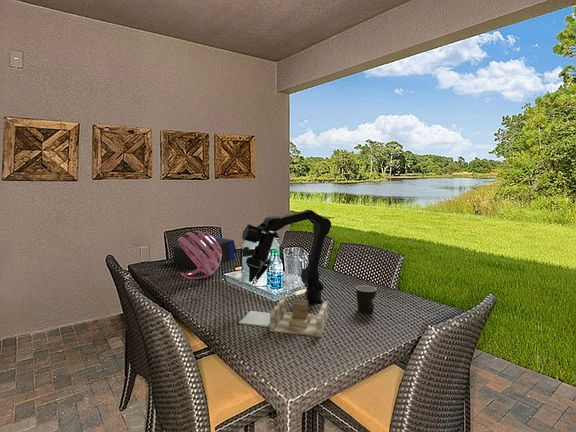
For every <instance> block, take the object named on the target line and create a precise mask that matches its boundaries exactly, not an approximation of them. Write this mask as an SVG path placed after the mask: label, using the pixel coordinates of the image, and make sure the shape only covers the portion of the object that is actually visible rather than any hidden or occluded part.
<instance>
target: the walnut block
mask: <svg viewBox="0 0 576 432" xmlns="http://www.w3.org/2000/svg"><path fill="white" fill-rule="evenodd" d="M292 313H293V319H301V320H306V318H307V316H308V313H309V303H308V300H305V299H297V298H296V299H295V300H294V301H293V303H292Z"/></svg>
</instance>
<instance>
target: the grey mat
mask: <svg viewBox="0 0 576 432" xmlns="http://www.w3.org/2000/svg"><path fill="white" fill-rule="evenodd" d="M270 313H271V312H265V311H263V312H262V311H255V310H254V311H253V310H250V311H249V312H247V314H246V315H245V316H244V317H243V318H242V319H241V320H240V321H239V322H238V323H239V325H245V326H246V325H247V326H248V325H249V326H255V327H262V328H270Z"/></svg>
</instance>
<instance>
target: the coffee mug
mask: <svg viewBox="0 0 576 432" xmlns="http://www.w3.org/2000/svg"><path fill="white" fill-rule="evenodd" d="M355 292H356V301H357V311H358V312H359V313H360V314H363V315H365V314H366V315H368V314H373V313H374V310H375V309H374V308H375V301H376V296H377V288H376V287H374V286H371V285H364V284H362V285H357V286H356V287H355Z"/></svg>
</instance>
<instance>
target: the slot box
mask: <svg viewBox="0 0 576 432" xmlns="http://www.w3.org/2000/svg"><path fill="white" fill-rule="evenodd" d="M269 313H270V325H269V331H270V332H275V333H284V334H291V335H299V336H308V337H314V338H315V337H317V338H322V335H323V332H324V329H325V327H326V324H327V322H328V318H329V301H328V300H324V301H323V302H322V305H321V307H320V310H319V312H318V314H312V313H311V312H308V316H307V318H306V320H301V319H293V311H292V312H291V311H288V297H287V296H282V298H281V299H280V301H278V303H277V304H276V305H275V306H274V308H273V309H272V310H271V311H270V312H269Z"/></svg>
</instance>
